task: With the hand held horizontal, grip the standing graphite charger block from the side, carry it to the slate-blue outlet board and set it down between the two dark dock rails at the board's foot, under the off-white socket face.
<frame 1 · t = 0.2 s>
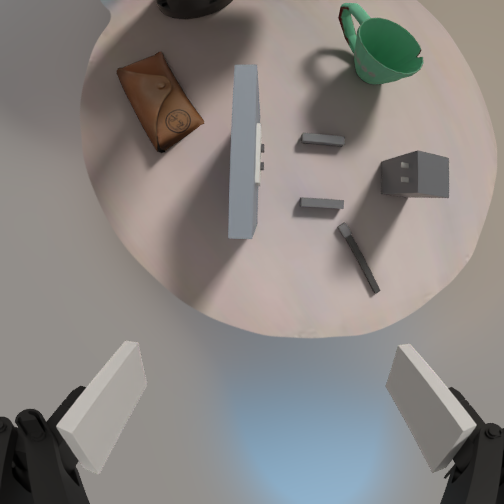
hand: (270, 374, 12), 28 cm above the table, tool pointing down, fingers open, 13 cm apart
sunglasses case: (160, 98, 37), on the table
grey long bar: (361, 262, 39), on the table
charger: (395, 179, 37), on the table
outlet board: (321, 171, 37), on the table
mug: (360, 61, 34), on the table
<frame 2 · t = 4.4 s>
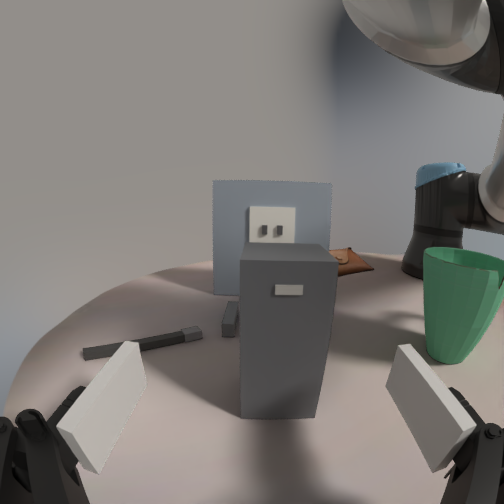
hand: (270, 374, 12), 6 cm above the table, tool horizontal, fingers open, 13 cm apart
sunglasses case: (332, 273, 53), on the table
grey long bar: (137, 349, 24), on the table
charger: (276, 396, 18), on the table
outlet board: (272, 324, 30), on the table
mug: (452, 345, 23), on the table
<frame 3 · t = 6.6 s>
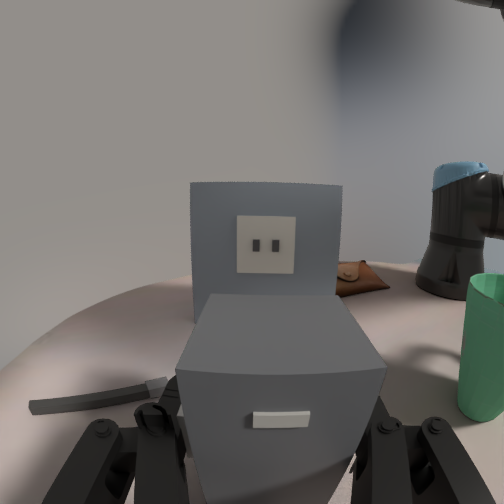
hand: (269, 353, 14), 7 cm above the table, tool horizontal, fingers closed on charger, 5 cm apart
sunglasses case: (339, 291, 44), on the table
grey long bar: (91, 404, 16), on the table
charger: (264, 491, 10), on the table, touching gripper
outlet board: (264, 372, 22), on the table
mug: (484, 391, 15), on the table
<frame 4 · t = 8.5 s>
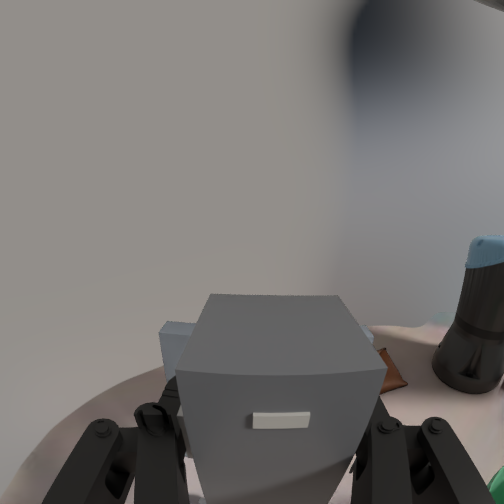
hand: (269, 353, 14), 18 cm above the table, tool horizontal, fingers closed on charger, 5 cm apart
sunglasses case: (350, 389, 34), on the table
charger: (264, 491, 10), point 11 cm above the table, touching gripper
when the fingers open (8 cm above the table, at t = 10.7 s): charger drops 1 cm, on the table.
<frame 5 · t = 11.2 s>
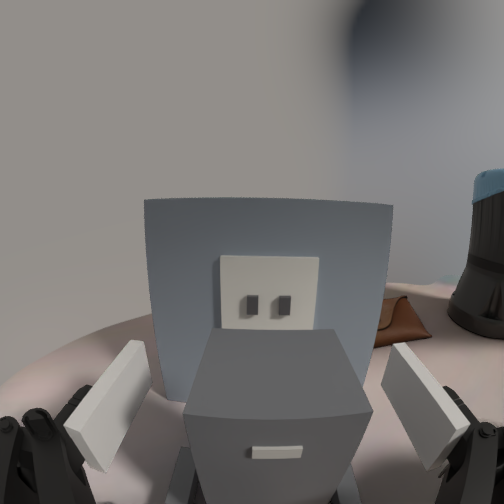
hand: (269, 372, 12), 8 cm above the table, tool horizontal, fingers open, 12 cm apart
sunglasses case: (365, 337, 31), on the table
charger: (263, 501, 11), on the table
outlet board: (263, 500, 11), on the table
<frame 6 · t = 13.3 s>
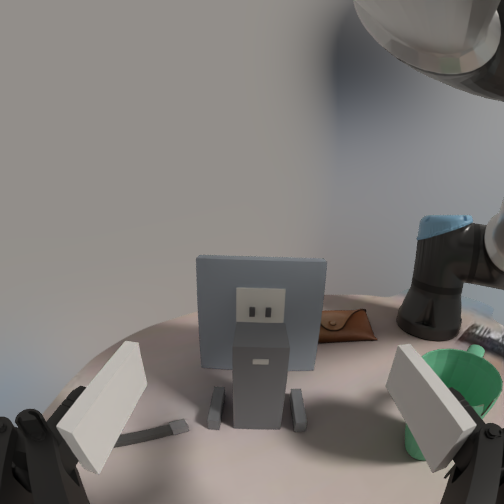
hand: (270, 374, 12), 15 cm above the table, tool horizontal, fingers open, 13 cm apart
sunglasses case: (328, 336, 48), on the table
grey long bar: (129, 441, 21), on the table
charger: (257, 414, 27), on the table
outlet board: (257, 413, 27), on the table
mug: (432, 434, 20), on the table
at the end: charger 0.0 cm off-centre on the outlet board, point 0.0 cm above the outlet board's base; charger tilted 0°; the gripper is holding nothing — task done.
